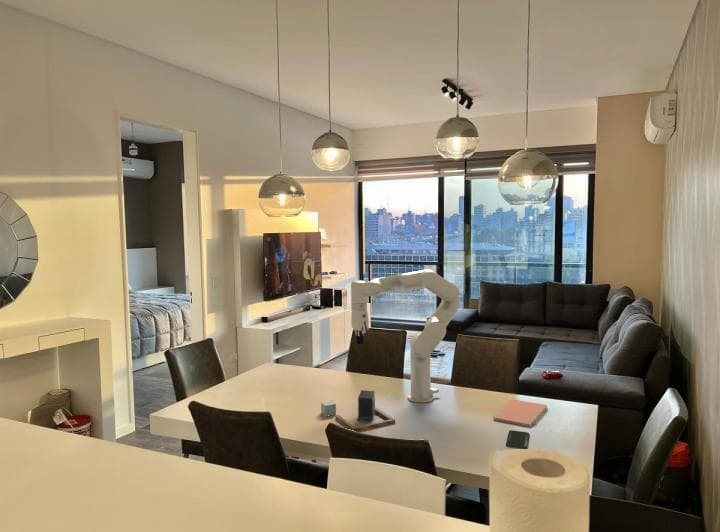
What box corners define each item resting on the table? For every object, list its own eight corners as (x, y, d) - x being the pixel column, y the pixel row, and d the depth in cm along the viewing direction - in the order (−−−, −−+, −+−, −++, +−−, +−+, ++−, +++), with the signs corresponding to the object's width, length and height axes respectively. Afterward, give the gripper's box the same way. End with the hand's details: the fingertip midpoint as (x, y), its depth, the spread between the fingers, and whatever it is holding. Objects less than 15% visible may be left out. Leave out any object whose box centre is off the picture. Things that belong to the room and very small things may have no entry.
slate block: (331, 411, 236) (331, 400, 236) (336, 414, 232) (335, 403, 232) (321, 413, 234) (321, 402, 234) (325, 416, 230) (325, 405, 229)
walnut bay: (375, 410, 236) (375, 407, 236) (395, 423, 221) (395, 419, 220) (335, 418, 227) (335, 415, 227) (353, 432, 211) (353, 428, 211)
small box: (372, 421, 223) (372, 398, 222) (357, 421, 224) (357, 397, 223) (375, 413, 233) (375, 390, 232) (360, 412, 234) (360, 389, 233)
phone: (529, 432, 207) (527, 447, 193) (529, 435, 207) (526, 450, 193) (508, 429, 210) (505, 444, 196) (508, 432, 210) (505, 447, 196)
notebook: (532, 429, 213) (532, 424, 213) (492, 421, 222) (492, 416, 222) (549, 409, 236) (549, 404, 236) (512, 402, 245) (512, 398, 245)
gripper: (373, 307, 245) (374, 346, 246) (358, 303, 258) (359, 340, 259) (359, 309, 241) (360, 347, 243) (345, 305, 254) (345, 341, 256)
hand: (359, 343), depth 251 cm, fingers closed
